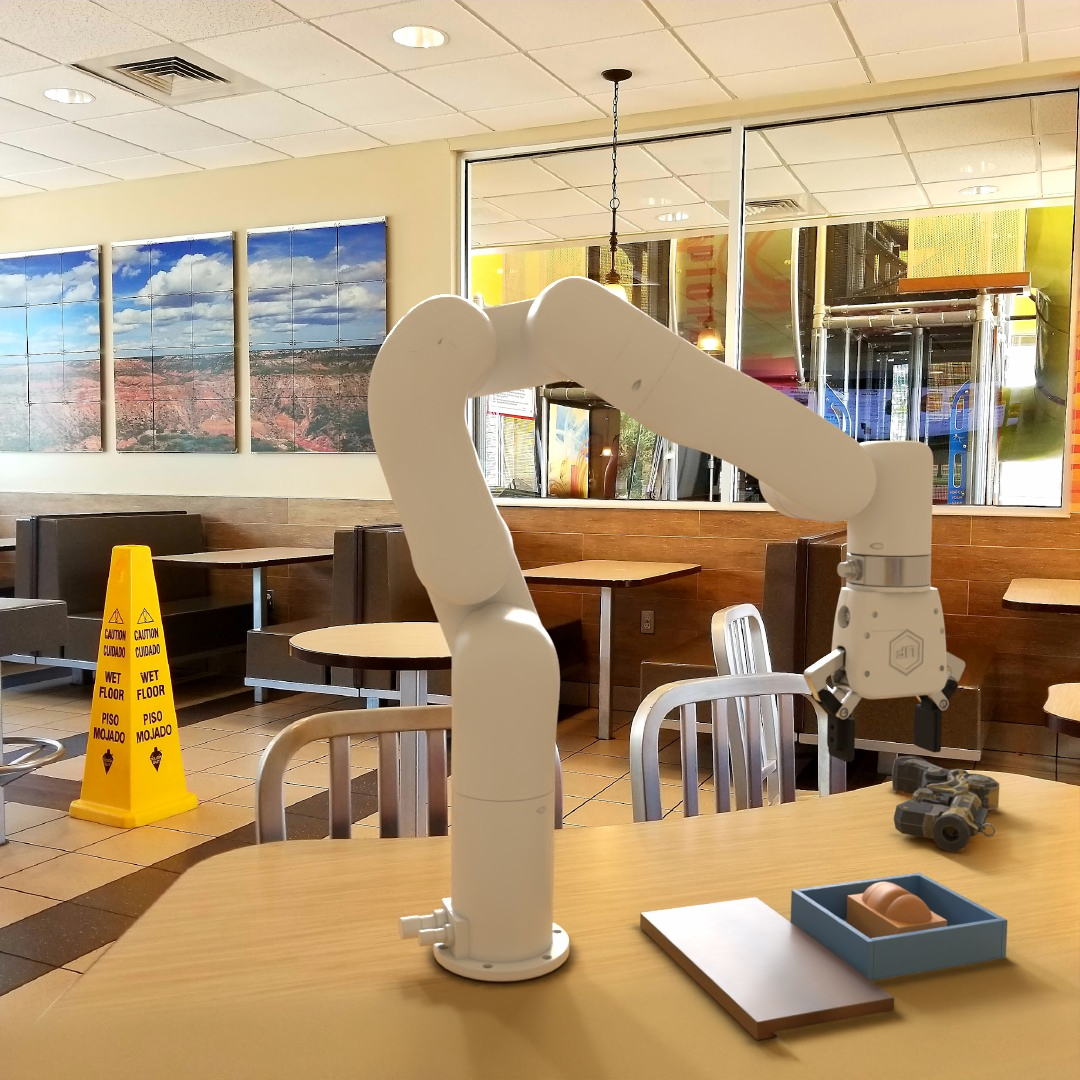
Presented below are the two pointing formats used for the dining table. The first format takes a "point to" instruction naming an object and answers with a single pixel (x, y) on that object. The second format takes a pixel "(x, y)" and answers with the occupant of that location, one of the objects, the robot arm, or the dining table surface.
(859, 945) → the bin
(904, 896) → the bread
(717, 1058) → the dining table surface
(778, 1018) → the board
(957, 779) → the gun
